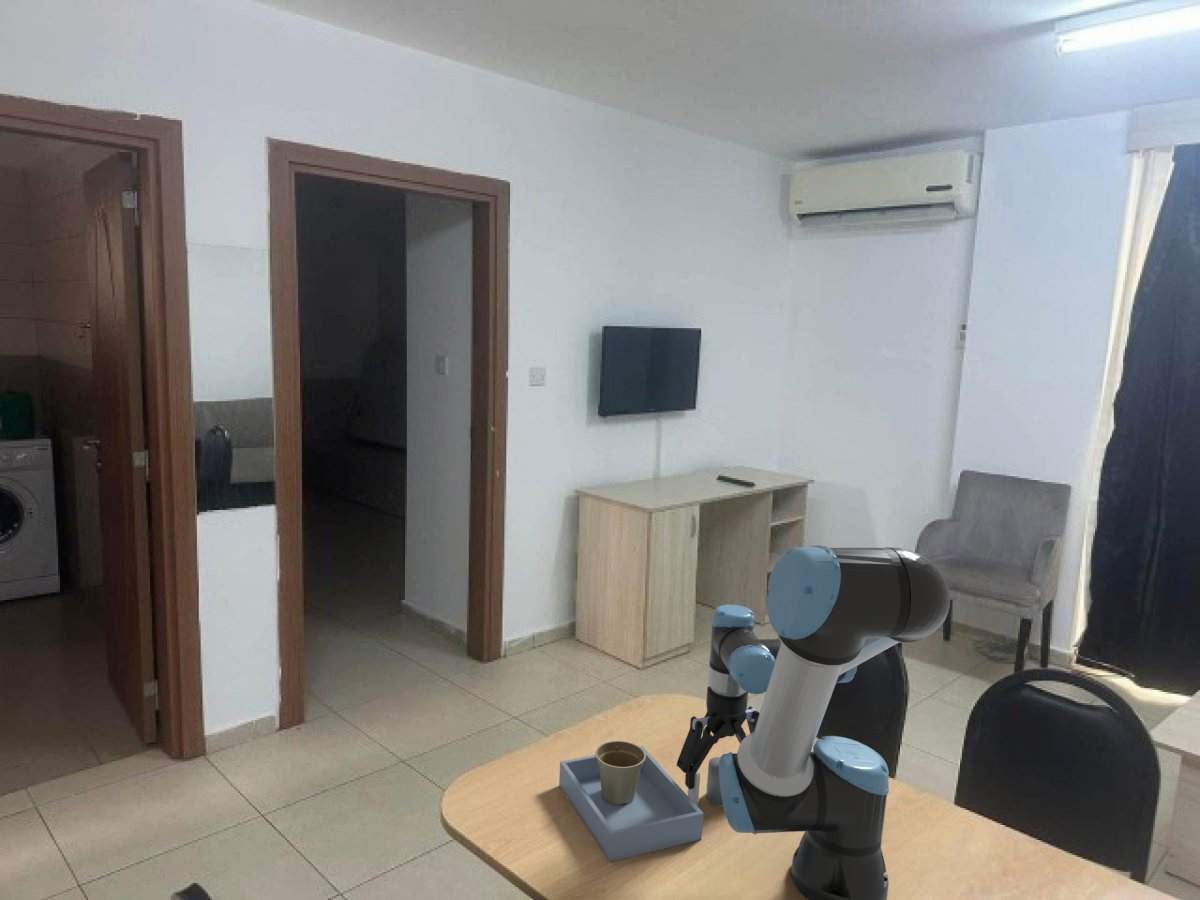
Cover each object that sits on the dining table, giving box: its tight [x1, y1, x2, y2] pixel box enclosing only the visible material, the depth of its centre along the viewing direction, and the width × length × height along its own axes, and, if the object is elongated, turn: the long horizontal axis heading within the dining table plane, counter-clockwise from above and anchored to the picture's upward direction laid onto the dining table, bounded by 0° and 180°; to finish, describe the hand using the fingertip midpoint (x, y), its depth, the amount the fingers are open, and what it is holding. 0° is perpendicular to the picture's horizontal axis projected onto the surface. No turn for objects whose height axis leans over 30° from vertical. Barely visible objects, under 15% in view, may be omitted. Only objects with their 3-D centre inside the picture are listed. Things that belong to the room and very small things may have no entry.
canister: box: [705, 756, 723, 807], centre depth 156 cm, size 5×5×7 cm
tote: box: [558, 746, 704, 862], centre depth 150 cm, size 24×18×5 cm
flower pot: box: [594, 740, 646, 805], centre depth 154 cm, size 9×9×9 cm
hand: (719, 796), depth 157 cm, fingers open, 11 cm apart
